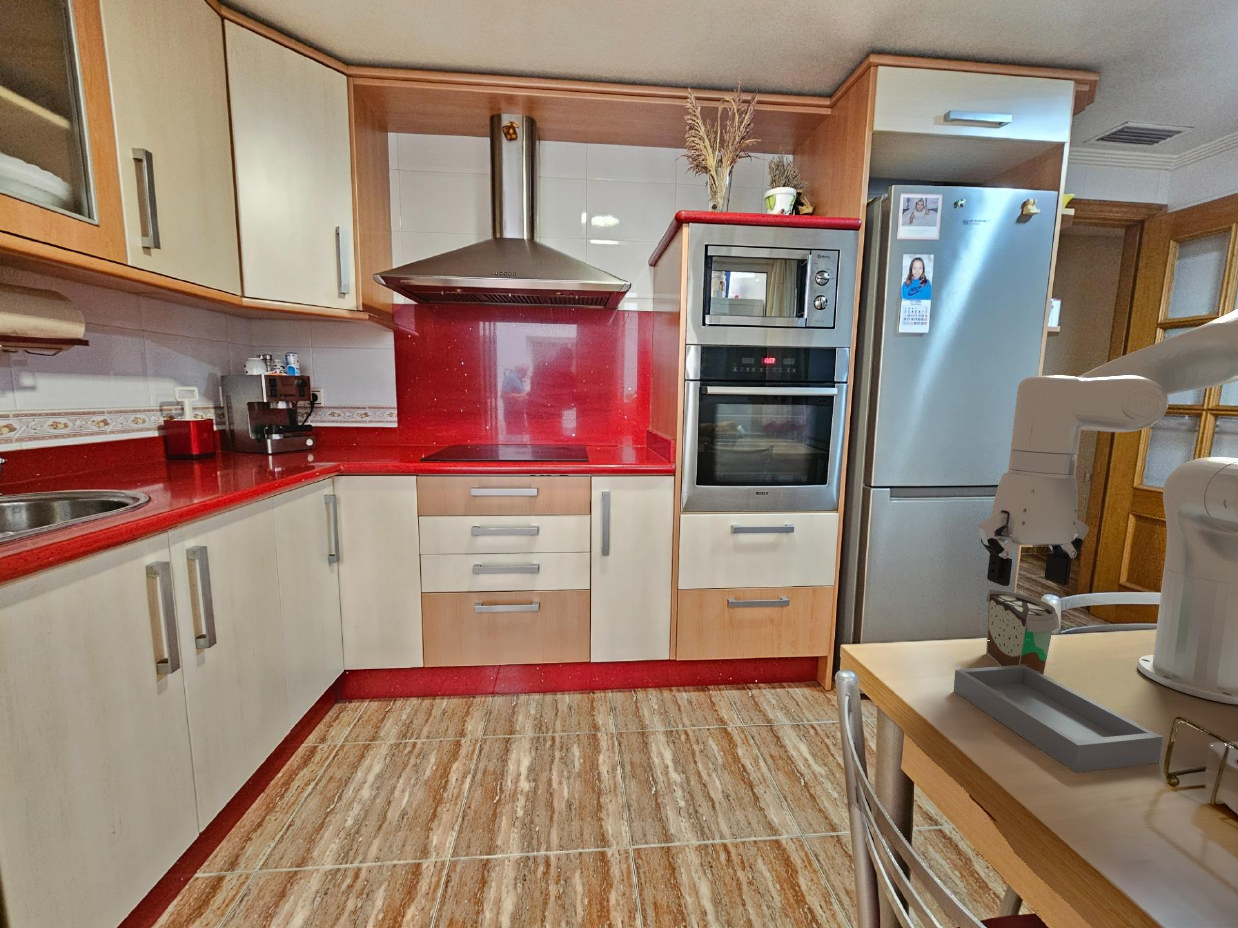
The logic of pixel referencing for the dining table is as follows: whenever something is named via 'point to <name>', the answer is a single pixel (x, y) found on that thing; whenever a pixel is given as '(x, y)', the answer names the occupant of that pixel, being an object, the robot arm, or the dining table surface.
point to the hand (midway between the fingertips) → (1027, 582)
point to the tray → (1058, 718)
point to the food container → (1019, 629)
